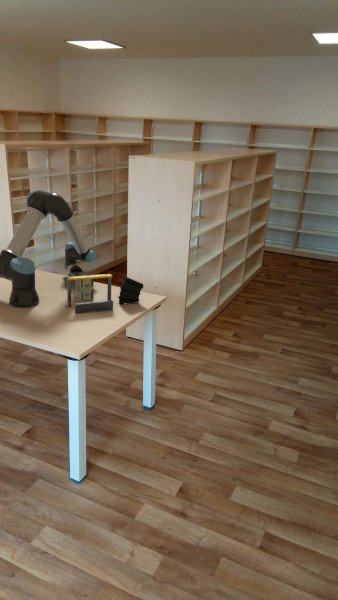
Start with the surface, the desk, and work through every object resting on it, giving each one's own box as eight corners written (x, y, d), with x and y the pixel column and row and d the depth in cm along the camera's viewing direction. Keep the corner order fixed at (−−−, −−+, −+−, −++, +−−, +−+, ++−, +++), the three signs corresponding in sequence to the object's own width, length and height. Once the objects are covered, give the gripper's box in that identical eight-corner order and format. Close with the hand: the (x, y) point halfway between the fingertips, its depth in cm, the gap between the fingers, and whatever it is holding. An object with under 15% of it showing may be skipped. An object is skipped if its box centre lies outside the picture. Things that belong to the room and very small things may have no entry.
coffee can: (84, 293, 252) (84, 270, 247) (97, 297, 247) (97, 274, 242) (71, 297, 244) (70, 273, 239) (83, 302, 239) (84, 278, 234)
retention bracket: (72, 314, 222) (72, 283, 217) (67, 306, 232) (66, 276, 226) (116, 309, 233) (117, 280, 227) (109, 302, 242) (110, 273, 236)
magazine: (113, 300, 241) (125, 276, 239) (132, 307, 248) (144, 284, 245) (115, 302, 238) (127, 278, 235) (135, 310, 244) (147, 286, 242)
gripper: (85, 276, 272) (96, 288, 252) (64, 277, 266) (74, 290, 247) (85, 264, 269) (97, 276, 250) (64, 266, 264) (74, 277, 244)
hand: (86, 283), depth 248 cm, fingers closed
